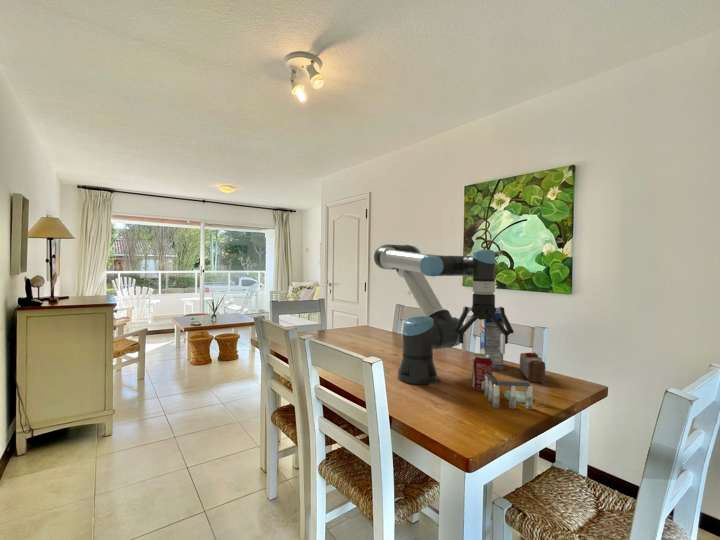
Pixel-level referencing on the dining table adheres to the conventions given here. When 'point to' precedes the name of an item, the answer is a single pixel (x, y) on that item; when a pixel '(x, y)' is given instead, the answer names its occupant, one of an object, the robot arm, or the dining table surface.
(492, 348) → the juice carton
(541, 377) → the food item
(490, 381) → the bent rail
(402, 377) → the robot arm
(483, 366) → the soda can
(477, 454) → the dining table surface
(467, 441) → the dining table surface
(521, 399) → the coaster
